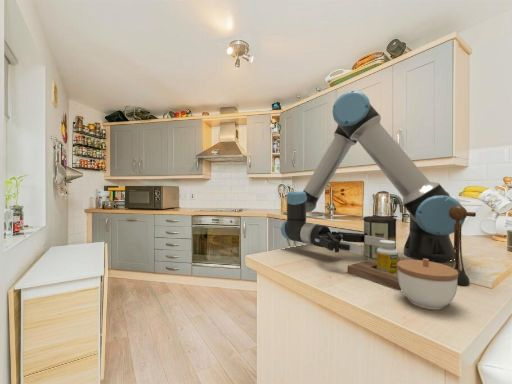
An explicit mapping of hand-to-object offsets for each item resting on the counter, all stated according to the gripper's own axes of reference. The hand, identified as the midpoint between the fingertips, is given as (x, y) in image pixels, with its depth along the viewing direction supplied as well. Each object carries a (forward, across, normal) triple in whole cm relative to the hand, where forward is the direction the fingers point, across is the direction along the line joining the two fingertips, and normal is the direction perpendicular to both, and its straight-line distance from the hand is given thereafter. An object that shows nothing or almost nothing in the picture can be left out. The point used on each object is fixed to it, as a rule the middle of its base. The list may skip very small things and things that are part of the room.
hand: (374, 246), depth 71 cm
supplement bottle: (+4, 0, -8) cm, 9 cm away
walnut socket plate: (+4, 0, -8) cm, 8 cm away
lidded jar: (+16, +10, -8) cm, 21 cm away
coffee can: (-6, -15, -8) cm, 18 cm away
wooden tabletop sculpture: (+18, -9, -8) cm, 21 cm away
